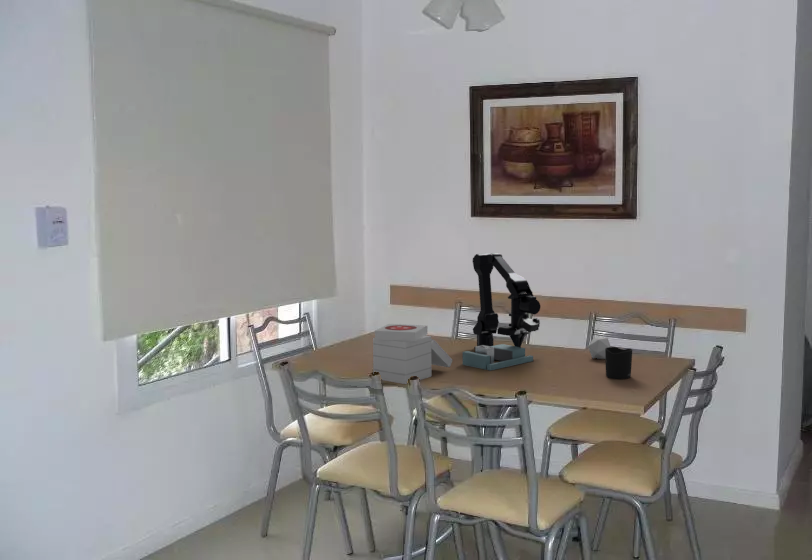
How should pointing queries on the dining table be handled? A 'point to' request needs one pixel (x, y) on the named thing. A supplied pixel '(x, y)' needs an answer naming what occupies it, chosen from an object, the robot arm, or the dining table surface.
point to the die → (598, 347)
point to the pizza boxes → (406, 353)
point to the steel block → (485, 351)
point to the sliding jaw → (507, 352)
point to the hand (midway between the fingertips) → (518, 350)
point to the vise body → (485, 361)
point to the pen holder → (618, 363)
